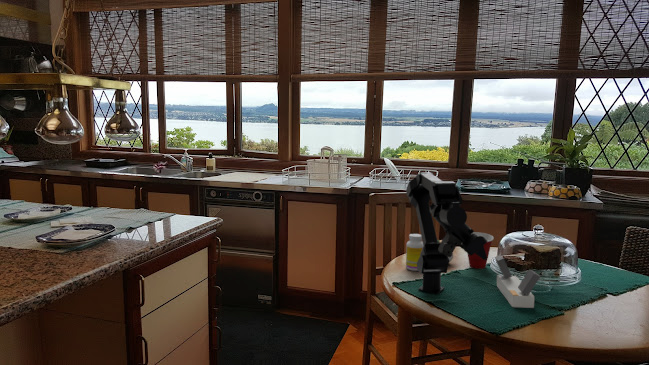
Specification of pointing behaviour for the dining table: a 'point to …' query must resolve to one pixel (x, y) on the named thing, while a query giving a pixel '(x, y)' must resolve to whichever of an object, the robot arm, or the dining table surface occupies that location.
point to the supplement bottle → (413, 251)
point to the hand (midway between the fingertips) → (485, 259)
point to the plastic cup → (475, 259)
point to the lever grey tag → (503, 266)
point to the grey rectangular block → (528, 282)
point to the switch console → (514, 292)
